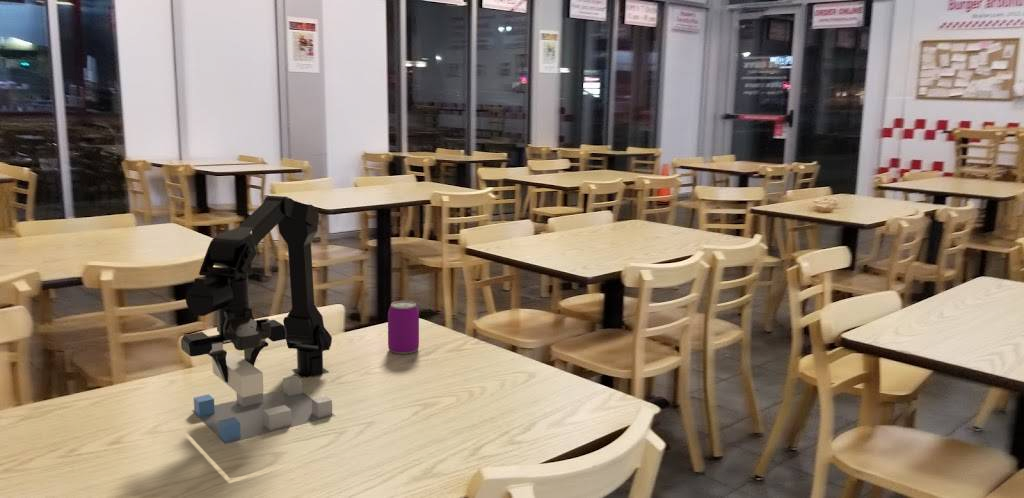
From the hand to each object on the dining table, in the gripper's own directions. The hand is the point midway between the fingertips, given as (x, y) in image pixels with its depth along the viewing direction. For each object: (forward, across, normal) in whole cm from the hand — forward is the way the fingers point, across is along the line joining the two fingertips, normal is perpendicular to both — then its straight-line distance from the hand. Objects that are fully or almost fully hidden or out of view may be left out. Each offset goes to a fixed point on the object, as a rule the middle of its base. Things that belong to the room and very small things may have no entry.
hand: (237, 379), depth 159 cm
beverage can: (+9, +49, +19) cm, 53 cm away
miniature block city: (+9, +5, 0) cm, 10 cm away
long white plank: (+1, 0, 0) cm, 1 cm away
